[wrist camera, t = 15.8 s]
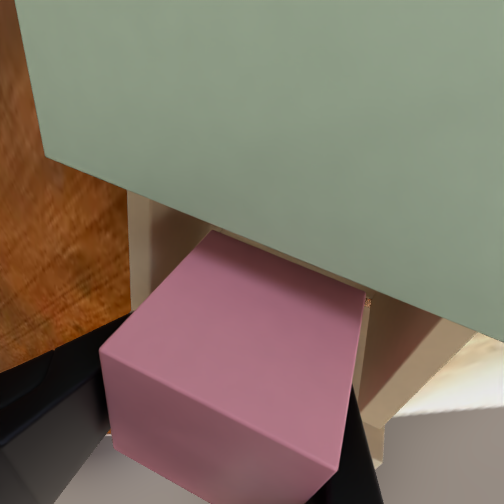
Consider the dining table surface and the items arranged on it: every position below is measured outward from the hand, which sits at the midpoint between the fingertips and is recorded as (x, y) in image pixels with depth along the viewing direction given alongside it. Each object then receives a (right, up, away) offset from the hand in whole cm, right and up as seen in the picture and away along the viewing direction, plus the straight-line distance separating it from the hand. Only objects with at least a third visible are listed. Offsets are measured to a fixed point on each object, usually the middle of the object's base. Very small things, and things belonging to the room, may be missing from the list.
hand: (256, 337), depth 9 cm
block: (0, +1, +1) cm, 1 cm away
